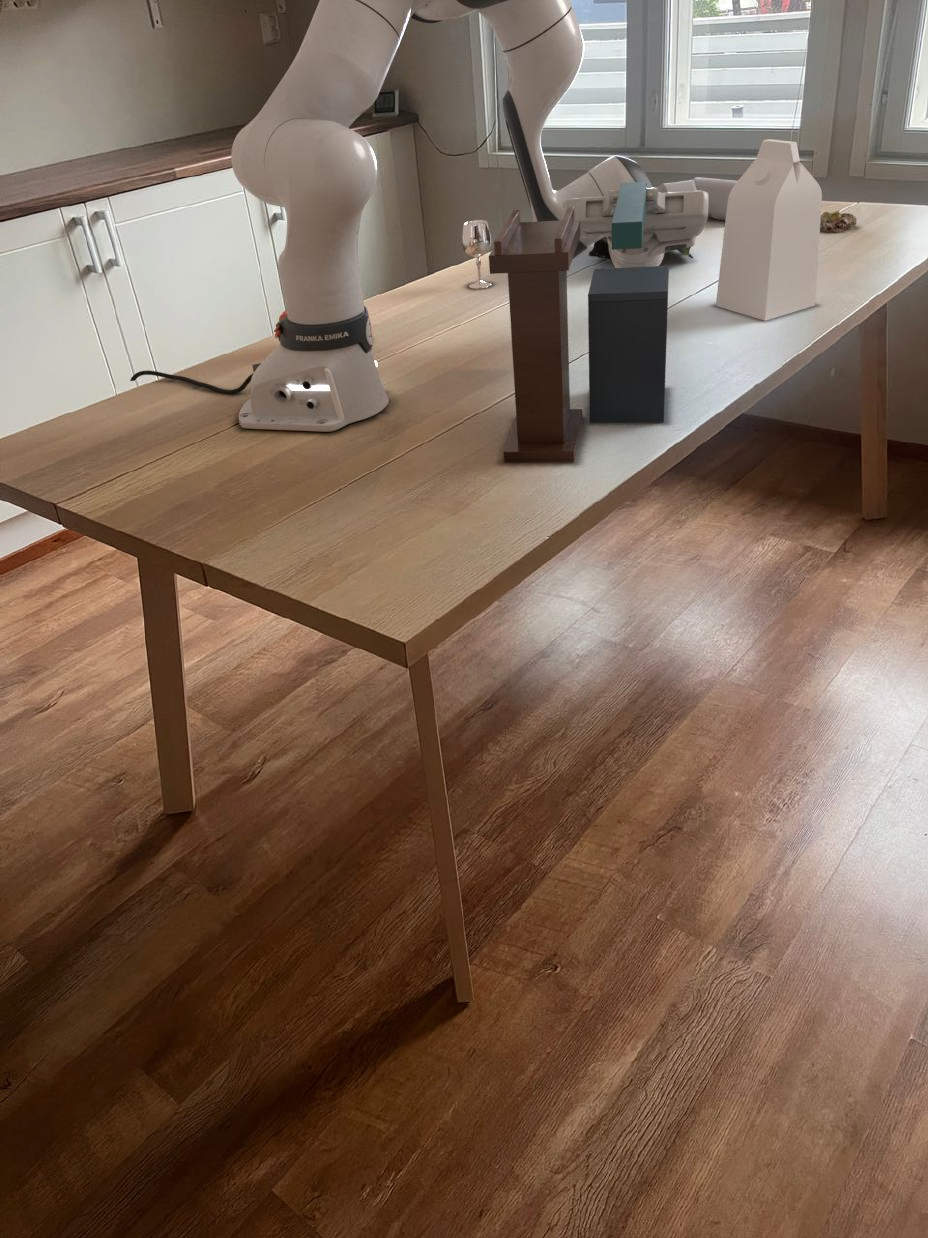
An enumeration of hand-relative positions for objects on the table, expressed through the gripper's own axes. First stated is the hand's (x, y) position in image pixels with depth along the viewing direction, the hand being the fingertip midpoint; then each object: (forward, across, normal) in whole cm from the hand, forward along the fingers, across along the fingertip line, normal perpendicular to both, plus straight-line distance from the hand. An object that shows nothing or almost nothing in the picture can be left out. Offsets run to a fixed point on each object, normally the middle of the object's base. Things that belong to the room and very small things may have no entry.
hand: (633, 194), depth 128 cm
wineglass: (-60, -32, -4) cm, 69 cm away
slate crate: (-5, 0, +27) cm, 28 cm away
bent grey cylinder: (-102, +14, -28) cm, 106 cm away
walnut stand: (+5, -11, +33) cm, 35 cm away
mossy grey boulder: (-75, -4, -13) cm, 76 cm away
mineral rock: (-90, +39, -21) cm, 101 cm away
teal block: (+7, 0, +6) cm, 9 cm away
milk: (-44, +22, +5) cm, 49 cm away
